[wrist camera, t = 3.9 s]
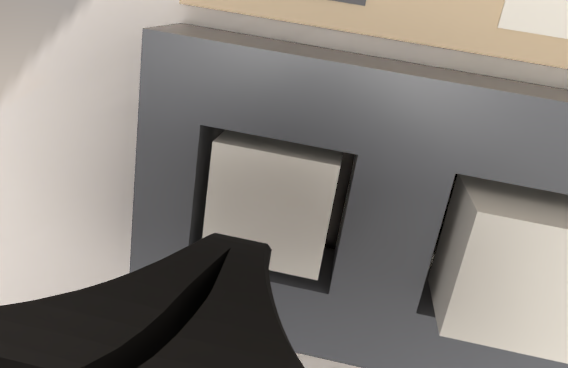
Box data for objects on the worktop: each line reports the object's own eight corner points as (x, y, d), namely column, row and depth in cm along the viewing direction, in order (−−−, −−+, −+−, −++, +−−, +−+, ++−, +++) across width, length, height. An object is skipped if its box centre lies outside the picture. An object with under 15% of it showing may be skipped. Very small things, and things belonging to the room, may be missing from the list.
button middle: (544, 303, 16) (580, 366, 14) (428, 279, 17) (439, 335, 14) (585, 197, 15) (634, 242, 12) (457, 173, 15) (477, 211, 13)
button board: (783, 405, 18) (859, 480, 15) (161, 269, 20) (127, 314, 17) (939, 153, 15) (1073, 190, 12) (181, 23, 17) (142, 28, 14)
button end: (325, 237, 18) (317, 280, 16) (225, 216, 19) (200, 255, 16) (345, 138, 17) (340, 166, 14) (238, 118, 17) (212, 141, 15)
